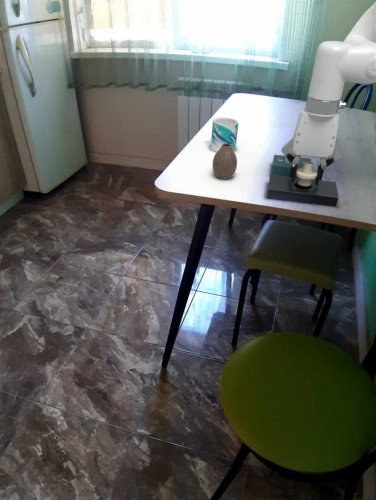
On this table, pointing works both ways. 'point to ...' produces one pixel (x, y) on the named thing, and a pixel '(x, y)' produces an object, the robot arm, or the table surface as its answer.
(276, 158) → the panel
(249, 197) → the table surface
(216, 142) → the mug
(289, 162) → the tap knob
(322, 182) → the black plate with hole
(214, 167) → the vase
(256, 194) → the table surface
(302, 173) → the stopper
